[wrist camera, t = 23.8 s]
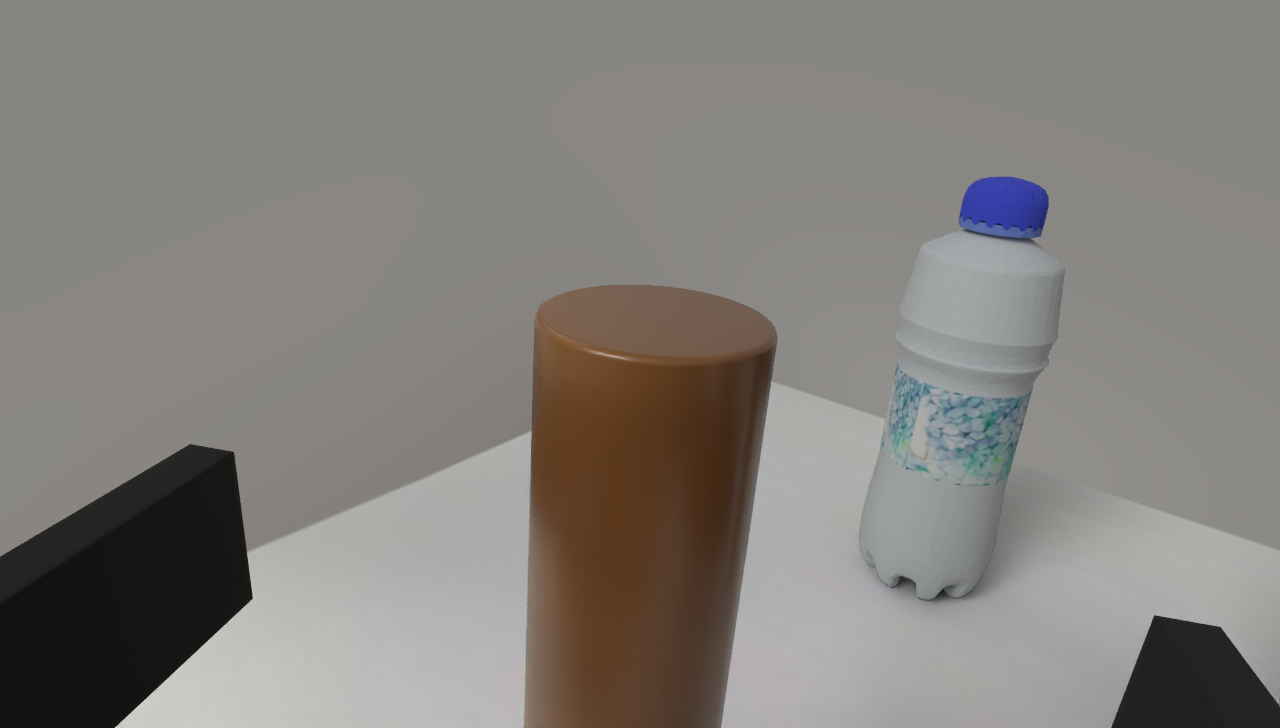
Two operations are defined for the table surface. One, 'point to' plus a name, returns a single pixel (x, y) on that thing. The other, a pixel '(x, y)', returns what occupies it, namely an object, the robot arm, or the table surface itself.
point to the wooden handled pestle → (640, 503)
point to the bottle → (962, 389)
